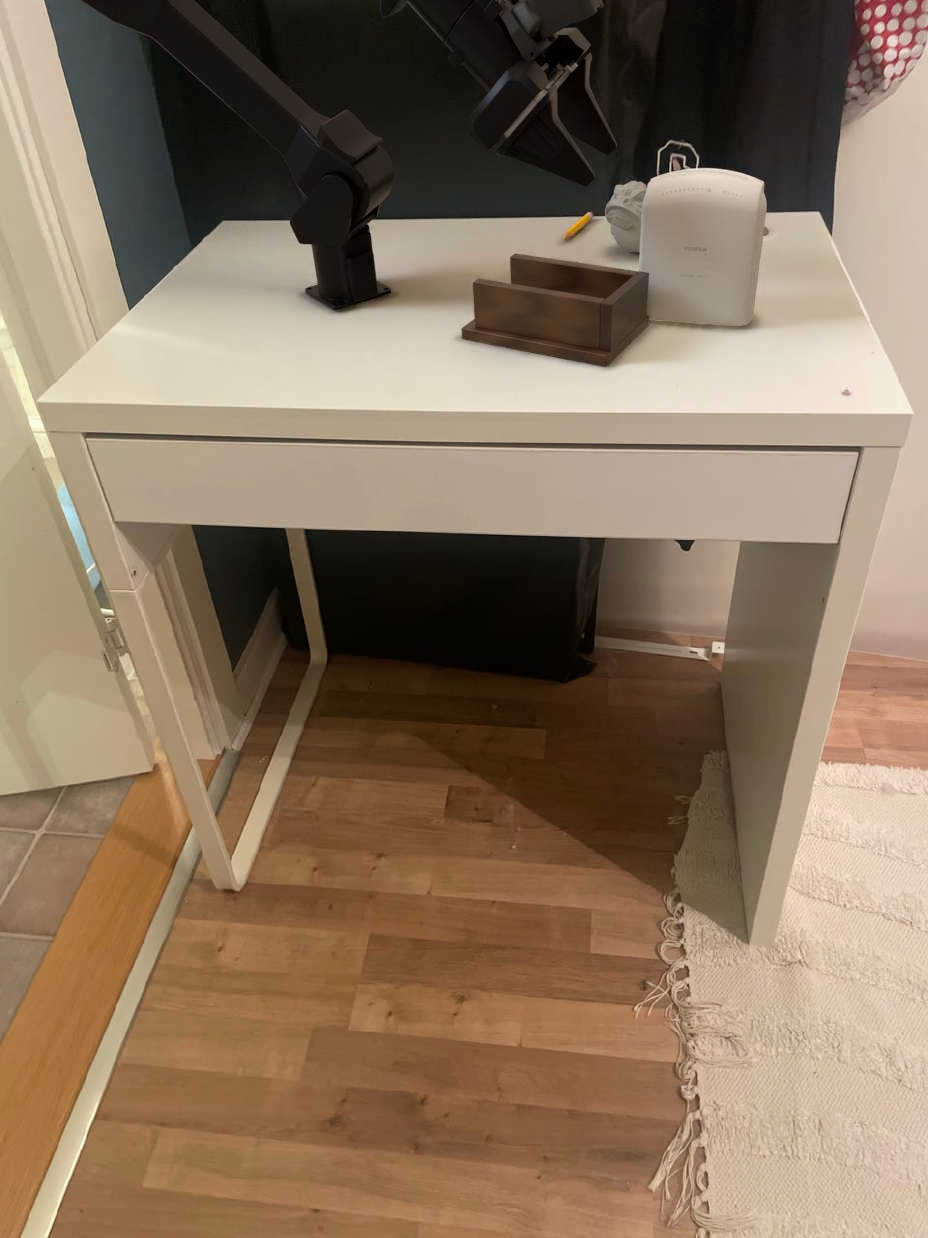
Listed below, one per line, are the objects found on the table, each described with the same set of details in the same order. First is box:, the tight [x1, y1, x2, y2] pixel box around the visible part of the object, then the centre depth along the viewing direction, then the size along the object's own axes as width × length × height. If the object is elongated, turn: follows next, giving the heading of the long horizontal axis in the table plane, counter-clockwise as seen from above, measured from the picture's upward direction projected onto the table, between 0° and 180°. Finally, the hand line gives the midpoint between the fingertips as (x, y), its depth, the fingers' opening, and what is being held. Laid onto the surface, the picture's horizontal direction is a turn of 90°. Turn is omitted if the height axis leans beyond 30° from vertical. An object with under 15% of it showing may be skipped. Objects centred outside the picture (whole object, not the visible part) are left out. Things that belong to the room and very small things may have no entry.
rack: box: [460, 253, 650, 367], centre depth 83 cm, size 14×9×5 cm, turn 59°
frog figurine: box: [604, 180, 647, 253], centre depth 96 cm, size 6×7×7 cm
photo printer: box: [638, 167, 768, 327], centre depth 81 cm, size 10×4×12 cm, turn 70°
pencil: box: [562, 211, 594, 240], centre depth 104 cm, size 1×9×1 cm, turn 154°
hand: (602, 165), depth 79 cm, fingers open, 9 cm apart
